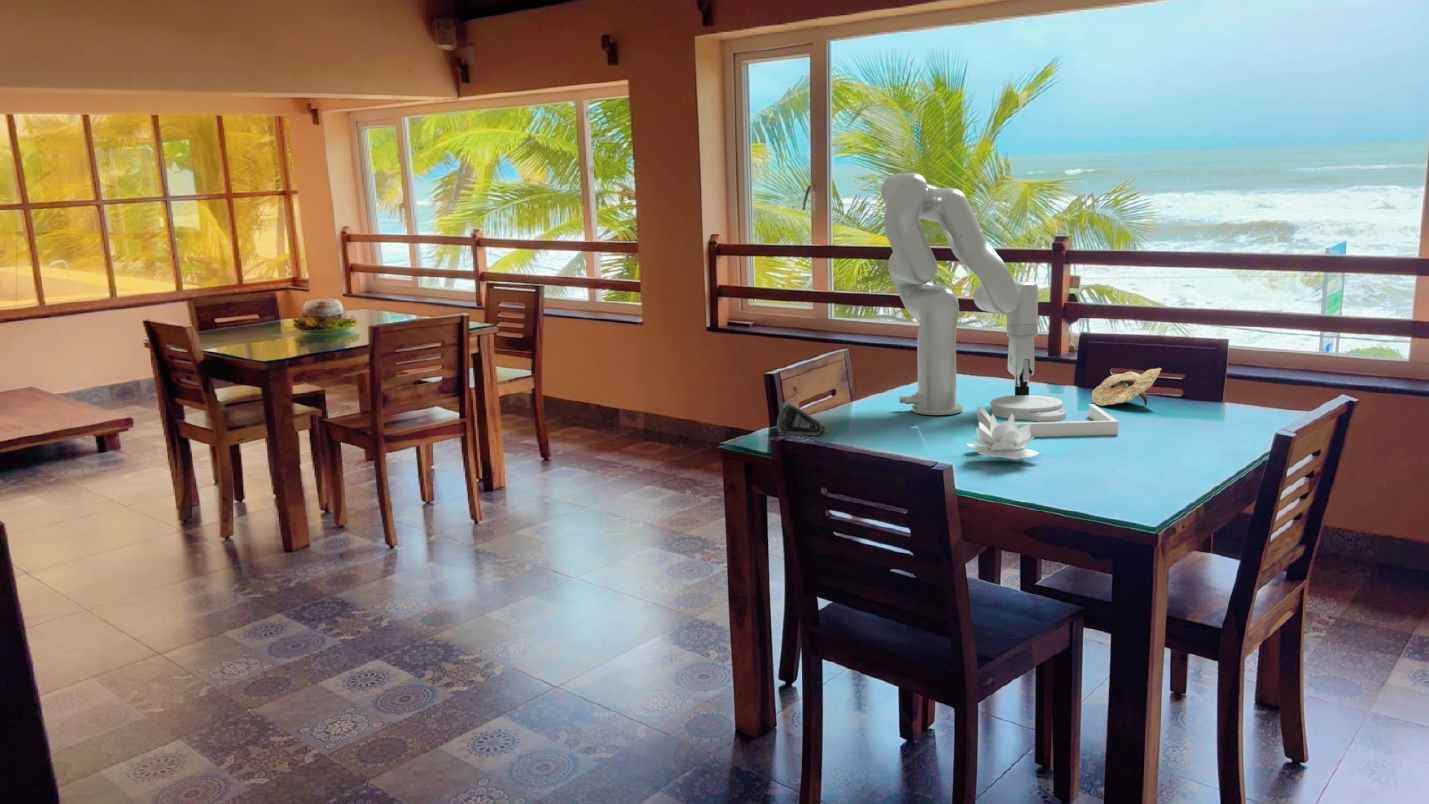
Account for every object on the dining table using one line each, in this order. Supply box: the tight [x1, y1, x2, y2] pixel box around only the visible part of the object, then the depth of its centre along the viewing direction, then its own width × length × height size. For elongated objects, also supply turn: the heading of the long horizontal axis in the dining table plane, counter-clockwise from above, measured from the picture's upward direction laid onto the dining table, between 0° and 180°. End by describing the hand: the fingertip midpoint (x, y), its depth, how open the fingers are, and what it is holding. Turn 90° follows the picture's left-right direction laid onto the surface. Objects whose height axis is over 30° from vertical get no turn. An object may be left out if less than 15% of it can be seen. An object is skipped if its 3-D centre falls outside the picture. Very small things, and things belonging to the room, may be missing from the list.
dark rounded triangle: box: [776, 401, 826, 436], centre depth 251 cm, size 10×7×12 cm
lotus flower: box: [966, 413, 1040, 460], centre depth 222 cm, size 14×15×9 cm
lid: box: [990, 394, 1067, 423], centre depth 260 cm, size 17×20×3 cm
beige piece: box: [1091, 367, 1162, 406], centre depth 266 cm, size 18×14×8 cm
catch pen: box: [977, 403, 1119, 438], centre depth 246 cm, size 27×20×3 cm
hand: (1021, 401), depth 272 cm, fingers closed
